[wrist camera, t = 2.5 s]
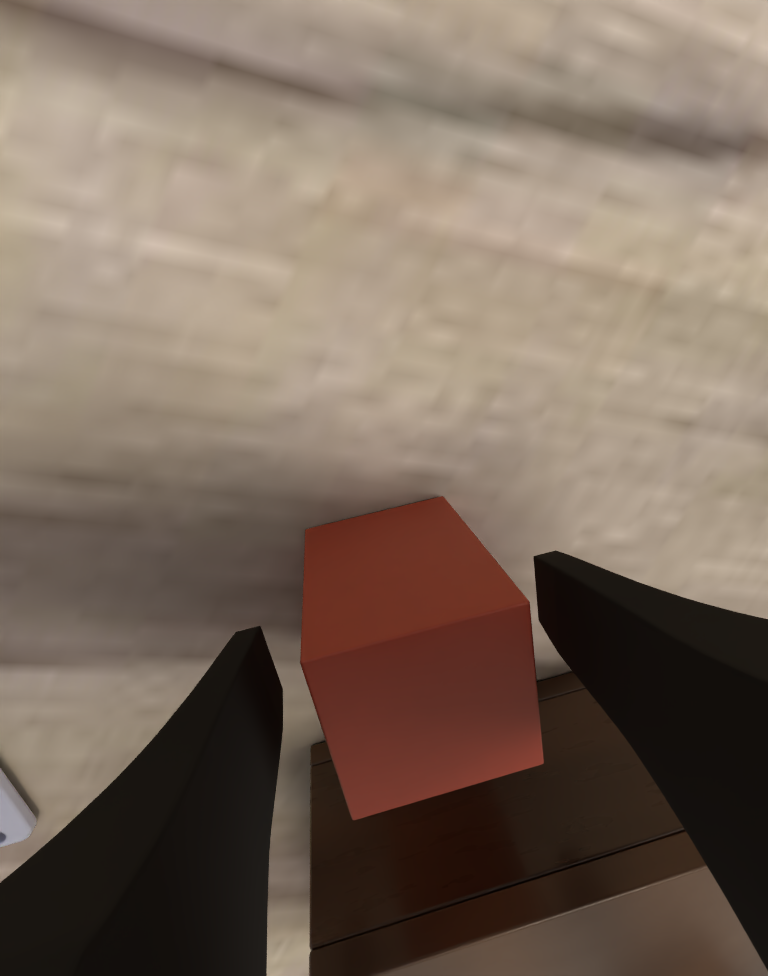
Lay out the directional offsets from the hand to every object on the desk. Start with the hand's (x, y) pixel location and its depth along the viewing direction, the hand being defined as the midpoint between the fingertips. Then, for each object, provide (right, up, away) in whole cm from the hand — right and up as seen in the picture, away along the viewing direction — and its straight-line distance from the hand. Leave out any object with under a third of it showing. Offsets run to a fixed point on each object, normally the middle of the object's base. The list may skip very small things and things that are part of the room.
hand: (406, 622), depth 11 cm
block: (0, +1, +2) cm, 3 cm away
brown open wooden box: (+4, -9, +7) cm, 12 cm away
